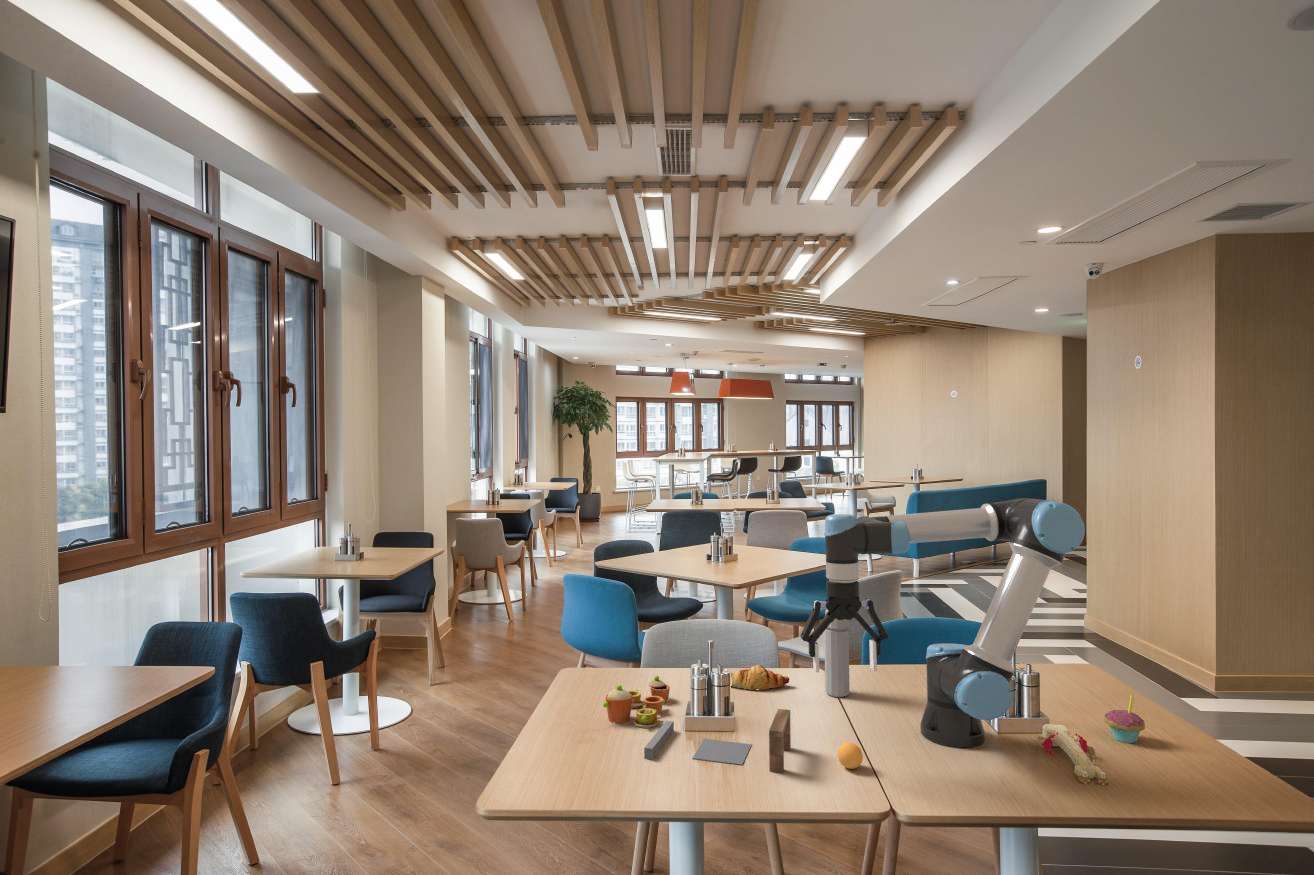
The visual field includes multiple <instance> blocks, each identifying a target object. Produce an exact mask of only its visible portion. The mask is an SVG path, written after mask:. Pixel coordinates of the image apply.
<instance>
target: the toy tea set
mask: <svg viewBox="0 0 1314 875" xmlns="http://www.w3.org/2000/svg"><path fill="white" fill-rule="evenodd" d="M647 685H648V686H649V687H650V693H651V695H649V696H645V697H644V698H642V699H643V700H641V696H642V693H641V691H639V690H638V689H634V690H630V689H629V690H627V689H624V688H623V686H622V685H620V684H617V685H616V688H614V689H613V690H611V691H610V692H609V693H607V694H606V695H605V701H603V704H602V705H603V708H606V711H607V718H608V721H609V722H610V721H611V722H610V723H613V722H615V723H614V724H624V723H627V722H629V721H630V719H631V712H632V709H631V708H633V709H637V710H636V712H635V713H636V714H635V715H636V718H635V719H633V725H634V726H635V727H638V728H642V729H649V728H654V727H656V726H657V725H658V724H659V720H661V719H662V716H661V715H660V713H661V714H662V713H663V712H662V710H663V705H665V702H666V701H667V700H668V701H669V697H670V696H669V694H670V689H671V688H670V687H671V686H670V685H669V684H666V683H665V682H664V681H663V680H661V679H660V676H659V675H655V676H654V677H653V679H652V680H650V681H649V682H648V684H647ZM666 703H667V702H666ZM640 706H641V707H642V708H641V707H640ZM657 714H659V715H657ZM623 722H624V723H623Z"/></svg>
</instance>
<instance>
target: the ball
mask: <svg viewBox="0 0 1314 875" xmlns="http://www.w3.org/2000/svg"><path fill="white" fill-rule="evenodd" d="M837 757H838V761H839V762H840V764H841V765H842V766H843V767H844V768H846V769H848V770H849V769H850V770H853V769H857V768H859V766H860V767H861V765H862V763H863V760H864V759H863V758H864V756H863V752H862V750H861V748H860V747H859V746H858V745H857V744H855V743H853V742H845V743H843V744H842V745H841V746H840V747H839V748H838V750H837Z"/></svg>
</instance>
